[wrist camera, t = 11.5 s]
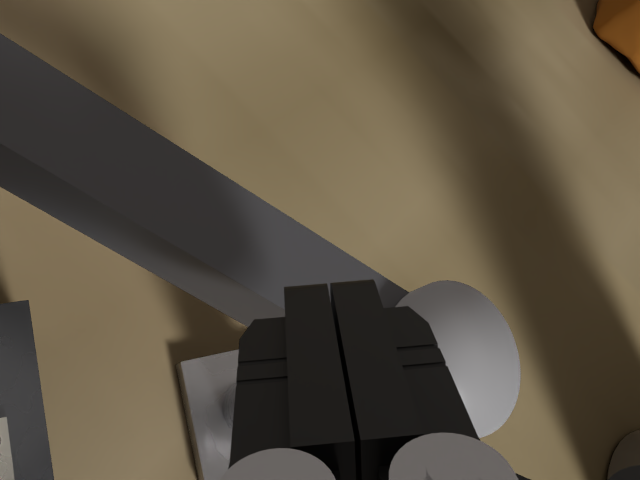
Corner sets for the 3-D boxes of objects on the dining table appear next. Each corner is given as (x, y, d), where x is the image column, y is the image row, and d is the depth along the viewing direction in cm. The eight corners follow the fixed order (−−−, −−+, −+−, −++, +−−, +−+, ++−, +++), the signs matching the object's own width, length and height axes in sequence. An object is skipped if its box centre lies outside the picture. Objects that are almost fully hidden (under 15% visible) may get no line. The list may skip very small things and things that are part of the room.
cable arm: (444, 349, 18) (546, 321, 14) (411, 467, 16) (521, 466, 13) (-404, -173, 12) (-557, -415, 9) (-604, -83, 10) (-894, -348, 7)
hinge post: (280, 342, 27) (437, 271, 17) (307, 451, 26) (490, 440, 16) (175, 364, 25) (290, 296, 15) (199, 487, 24) (341, 500, 14)
